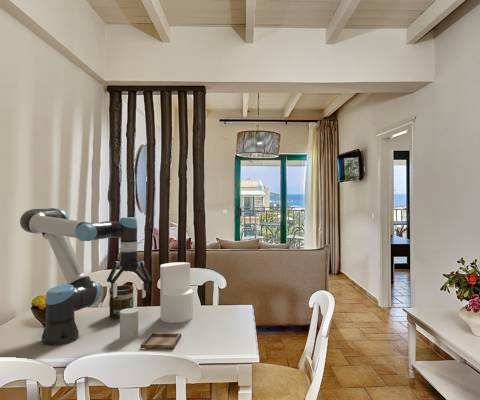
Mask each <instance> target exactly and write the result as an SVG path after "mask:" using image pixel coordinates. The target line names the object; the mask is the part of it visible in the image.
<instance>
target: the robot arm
mask: <svg viewBox="0 0 480 400" xmlns="http://www.w3.org/2000/svg"><path fill="white" fill-rule="evenodd" d="M137 220H138V219H137V218H136V217H135V216H134V217H133V216H132V217H130V216H129V217H121V218H120V219H119V221H111V220H110V221H108V220H107V221H106V220H105V221H101V222H86V221H81V220H80V221H79V220H73V219H69V216H68V214H67V213H66V212H65V210H62V209H60V208H54V207H51V208H32V209H29V210H27V211H25V212H23V214H22V215H21V217H20V219H19V224H20V227H21V228H22V230H24V231H25V232H27V233H32V234H41V235H42V237H43V239H45V240H47V241H48V242H49V244H50V247H51V249H52V251H53V254H54V256H55V259H56V260H57V263H58V265H59V267H60V270H61V272H62V274H63V277H64V279H65V282H66V283H65V284H62V285H57V286H54V287H52V288H49V289H48V290H47V291H46V293H45V300H44V301H45V302H44V303H45V325H44V329H43V332H42V334H41V338H40V339H41V340H40V341H41V344H42V345H44V346H49V347H50V346H61V345H62V346H63V345H66V344H70V343H73V342H74V341H75V342H76V340H78V339H79V336H80V332H79V329H78V326H77V322H76V319H75V312H76V311H80V310H82V309H85V308H90V307H91V306H93V305H95V304H97V302H98V301H99V300H100V296H101V294H102V293H101V287H100V284H99V283H98V282H97V281H95V280H92V279H91V277H90V276H89V275H87V274H85V272H84V270H83V268H82V266H81V264H80V261H79V259H78V257H77V255H76V252H75V250H74V248H73V246H72V243H71V241H70V239H69V238H75V239H77V240H79V241H81V242H90V241H97V240H103V239H104V240H105V239H109V238H110V239H112V238H115V239H116V238H118V239H120V240H119V242H120V245H119V246H120V248H119V249H120V252H119V253H120V256H119V257H120V261H118V260H116V261H114V262H113V263H112V264H113V266H112V269H111V270H110V272H109V275H108V277H107V279H106V282H108V283H110V288H111V290H113V298H115V297H117V286H118V282H117V280H118V278H120V276H121V275H122V274H123V273H124V272H126V273H127V272H133V273H134V274H136V276H138V278H139V279H140V280H141V281H142V283H141V298H142V299H144V298H146V297H147V295H146V294H147V290H148V286H149V285H148V283H150V282H151V281H152V277H151V275H150V274H149V271H148V269H147V268H146V264H145V261H144V260H142V261H139V260H138V259H139V257H138V221H137ZM119 266H120V267H121V268H120V269H119V270H118V272H117V269H118V267H119ZM139 267H140V268H141V269H139ZM141 271H142V272H141ZM116 272H117V273H116ZM115 273H116V274H115Z"/></svg>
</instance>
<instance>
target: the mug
mask: <svg viewBox="0 0 480 400" xmlns="http://www.w3.org/2000/svg"><path fill="white" fill-rule="evenodd" d="M134 288H135V287H134V285H127V284H125V285H117V297H115V298H113V290H111V287H109V290H108V291H109V301H108V303H109V304H108V305H109V319H113V320H117V321H118V320H120V311H121V310H123V309H127V308H134Z"/></svg>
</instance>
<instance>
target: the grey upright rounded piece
mask: <svg viewBox="0 0 480 400" xmlns="http://www.w3.org/2000/svg"><path fill="white" fill-rule="evenodd" d="M137 338H139V309H138V308H135V307H133V308H127V309H123V310H121V311H120V319H119V339H120V340H121V341H122V340H123V341H132V340H136V339H137Z"/></svg>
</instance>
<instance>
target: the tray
mask: <svg viewBox="0 0 480 400" xmlns="http://www.w3.org/2000/svg"><path fill="white" fill-rule="evenodd" d="M181 338H182V333H181V332H179V333H178V332H150V334H148V336H147V337H146V338H145V339H144V340H143V341H142V342H141V343H140V349H141V348H145V349H144V350H170V351H171V350H172V351H173V350H174V349H175V348H176V346H177V345H178V343H179V342H180V340H181Z"/></svg>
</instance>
